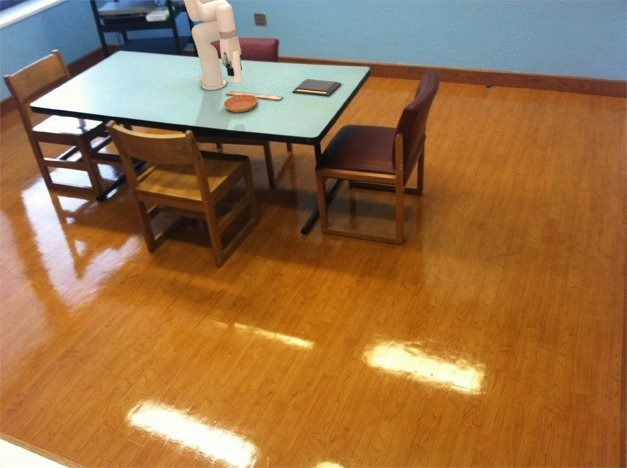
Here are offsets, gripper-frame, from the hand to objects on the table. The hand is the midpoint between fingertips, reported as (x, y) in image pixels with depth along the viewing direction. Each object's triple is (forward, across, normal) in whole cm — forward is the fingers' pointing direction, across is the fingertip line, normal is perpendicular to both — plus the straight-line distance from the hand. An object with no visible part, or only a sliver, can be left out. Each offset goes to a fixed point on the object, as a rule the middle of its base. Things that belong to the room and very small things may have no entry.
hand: (235, 72), depth 274 cm
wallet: (+17, -28, +27) cm, 42 cm away
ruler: (+17, -12, 0) cm, 21 cm away
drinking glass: (+5, 0, 0) cm, 5 cm away
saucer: (+17, 0, 0) cm, 17 cm away
